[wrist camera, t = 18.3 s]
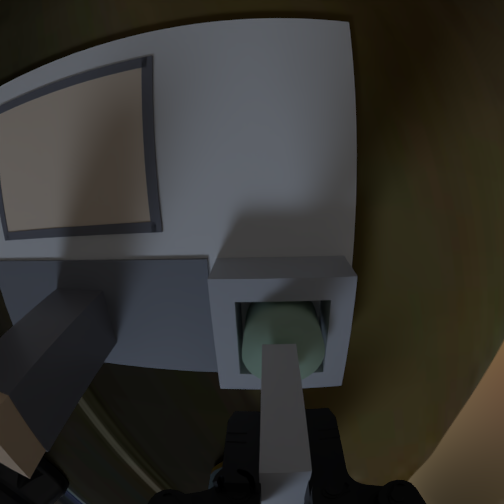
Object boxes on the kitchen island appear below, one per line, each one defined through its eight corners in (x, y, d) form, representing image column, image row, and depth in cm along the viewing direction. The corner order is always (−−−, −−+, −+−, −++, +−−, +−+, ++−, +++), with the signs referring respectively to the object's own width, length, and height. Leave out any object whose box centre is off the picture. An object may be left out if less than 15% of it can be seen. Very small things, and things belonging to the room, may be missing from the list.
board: (27, 340, 21) (6, 362, 18) (-16, 99, 14) (-48, 99, 11) (337, 360, 20) (346, 396, 17) (345, 26, 13) (363, 2, 10)
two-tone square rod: (72, 337, 19) (-17, 452, 8) (56, 288, 18) (-58, 396, 7) (117, 342, 19) (32, 480, 8) (102, 290, 18) (-15, 424, 7)
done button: (247, 347, 18) (243, 383, 15) (244, 288, 17) (239, 319, 14) (313, 346, 18) (321, 382, 15) (318, 286, 16) (328, 317, 13)
